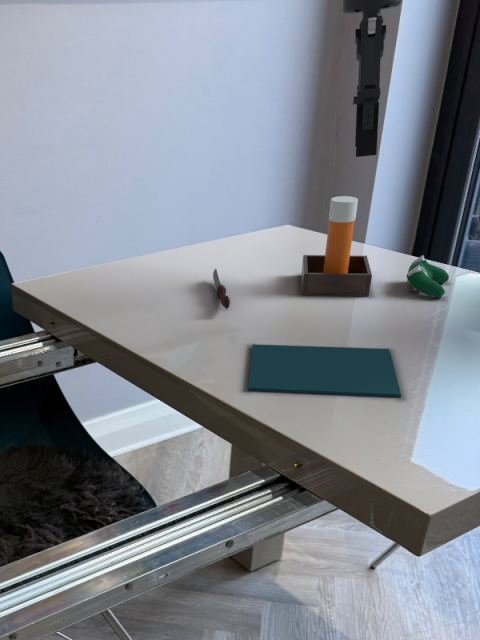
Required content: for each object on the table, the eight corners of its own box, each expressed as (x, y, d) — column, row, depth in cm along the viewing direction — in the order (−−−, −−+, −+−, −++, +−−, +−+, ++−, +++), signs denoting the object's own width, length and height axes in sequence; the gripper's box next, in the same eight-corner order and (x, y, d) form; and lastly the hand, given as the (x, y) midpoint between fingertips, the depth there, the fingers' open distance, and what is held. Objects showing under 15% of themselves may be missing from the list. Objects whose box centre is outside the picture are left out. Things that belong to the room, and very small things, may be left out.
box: (363, 276, 131) (366, 255, 129) (368, 296, 123) (372, 274, 121) (301, 275, 133) (303, 254, 131) (301, 295, 125) (304, 273, 123)
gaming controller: (430, 291, 128) (407, 263, 128) (451, 276, 126) (428, 247, 125) (424, 310, 122) (400, 280, 121) (446, 294, 119) (421, 264, 118)
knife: (208, 279, 133) (209, 261, 132) (217, 278, 133) (218, 261, 131) (221, 317, 118) (222, 298, 116) (231, 317, 118) (232, 298, 116)
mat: (388, 351, 105) (389, 348, 105) (400, 397, 94) (401, 394, 93) (252, 346, 108) (252, 344, 108) (247, 390, 97) (248, 387, 97)
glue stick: (346, 279, 129) (357, 196, 121) (347, 287, 125) (358, 202, 118) (320, 278, 129) (330, 196, 122) (321, 286, 126) (331, 202, 119)
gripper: (343, -14, 115) (339, 144, 125) (342, -27, 95) (337, 163, 105) (398, -22, 113) (388, 139, 123) (409, -38, 92) (397, 157, 103)
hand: (365, 150), depth 114 cm, fingers open, 13 cm apart
